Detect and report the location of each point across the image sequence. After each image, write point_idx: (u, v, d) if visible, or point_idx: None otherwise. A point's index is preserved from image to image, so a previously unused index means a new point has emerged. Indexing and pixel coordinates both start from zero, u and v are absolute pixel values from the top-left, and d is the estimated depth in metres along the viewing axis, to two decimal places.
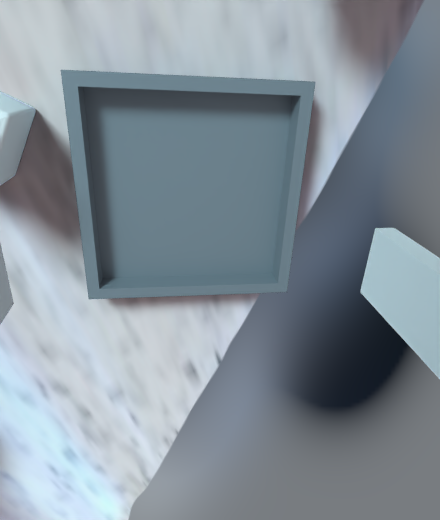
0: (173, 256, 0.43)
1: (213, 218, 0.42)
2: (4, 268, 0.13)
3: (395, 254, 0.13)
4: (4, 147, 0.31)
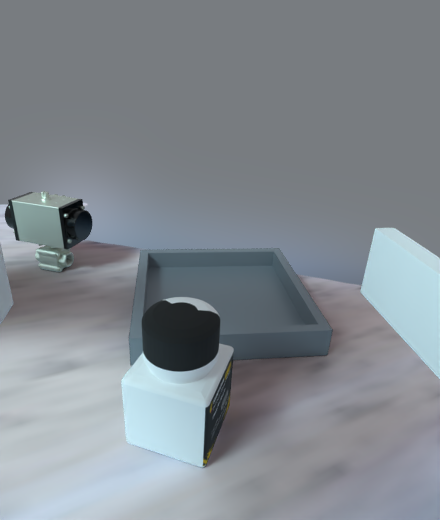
0: (276, 305, 0.51)
1: (237, 289, 0.54)
2: (4, 268, 0.13)
3: (395, 254, 0.13)
4: None
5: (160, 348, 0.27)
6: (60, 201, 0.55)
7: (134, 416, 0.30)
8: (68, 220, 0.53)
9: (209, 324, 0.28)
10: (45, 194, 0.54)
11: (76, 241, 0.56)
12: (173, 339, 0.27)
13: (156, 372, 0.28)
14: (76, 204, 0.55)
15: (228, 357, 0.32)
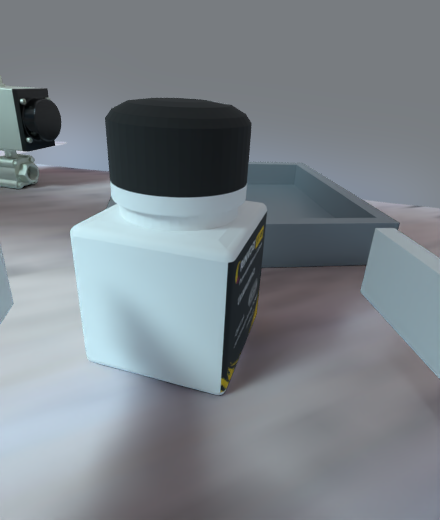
0: (307, 215, 0.38)
1: (253, 201, 0.41)
2: (4, 268, 0.13)
3: (395, 254, 0.13)
4: None
5: (138, 146, 0.14)
6: (17, 87, 0.41)
7: (97, 303, 0.17)
8: (26, 109, 0.40)
9: (233, 112, 0.15)
10: None
11: (39, 145, 0.43)
12: (165, 120, 0.13)
13: (133, 206, 0.15)
14: (38, 92, 0.42)
15: (261, 212, 0.19)
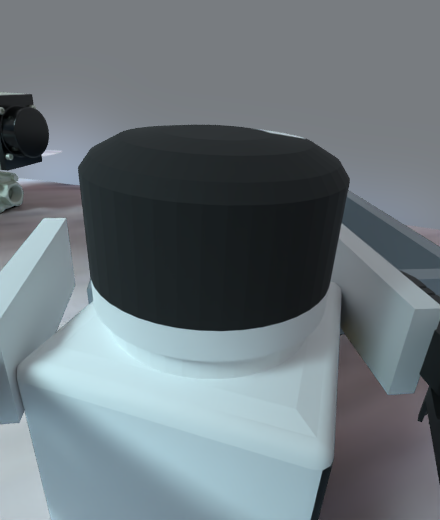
0: None
1: None
2: (69, 252, 0.14)
3: None
4: None
5: (141, 235, 0.07)
6: None
7: (68, 481, 0.10)
8: (5, 119, 0.33)
9: (324, 159, 0.08)
10: None
11: (23, 161, 0.36)
12: (199, 187, 0.06)
13: (131, 338, 0.08)
14: (20, 99, 0.34)
15: (338, 305, 0.12)
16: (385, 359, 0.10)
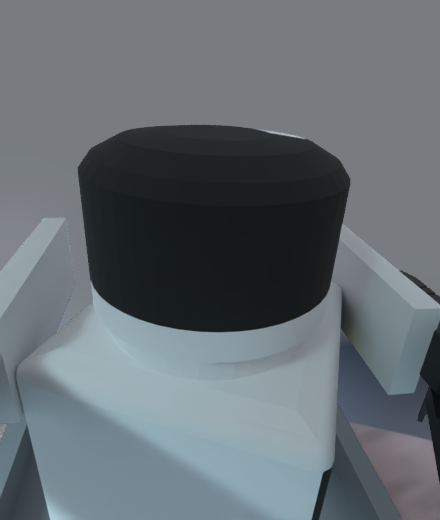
0: None
1: None
2: (69, 252, 0.14)
3: None
4: None
5: (142, 236, 0.07)
6: None
7: (68, 483, 0.10)
8: None
9: (324, 159, 0.08)
10: None
11: None
12: (199, 187, 0.06)
13: (131, 339, 0.08)
14: None
15: (339, 306, 0.12)
16: (385, 359, 0.10)
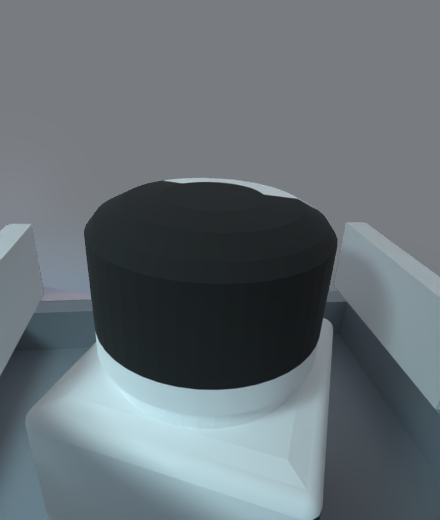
0: None
1: None
2: (36, 259, 0.13)
3: (362, 247, 0.13)
4: None
5: (144, 306, 0.07)
6: None
7: (73, 519, 0.10)
8: None
9: (313, 227, 0.08)
10: None
11: None
12: (197, 267, 0.07)
13: (134, 392, 0.08)
14: None
15: (330, 344, 0.12)
16: (432, 372, 0.10)
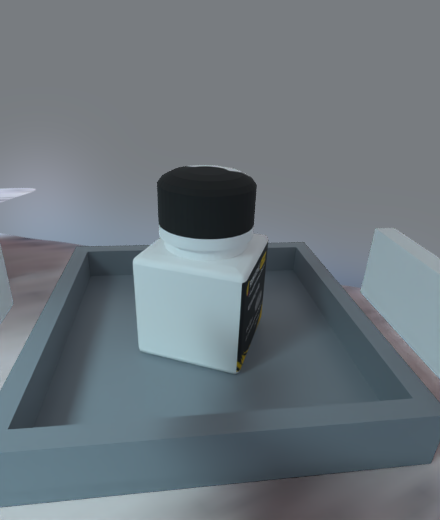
0: (308, 344, 0.27)
1: None
2: (4, 268, 0.13)
3: (395, 254, 0.13)
4: None
5: (183, 206, 0.21)
6: None
7: (149, 310, 0.24)
8: None
9: (244, 181, 0.22)
10: None
11: None
12: (200, 191, 0.21)
13: (177, 244, 0.22)
14: None
15: (263, 243, 0.26)
16: None
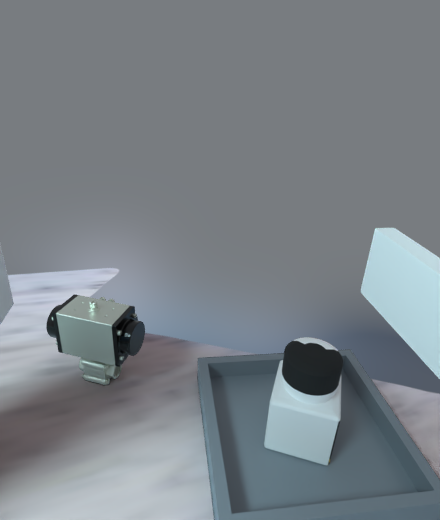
0: (365, 440, 0.44)
1: None
2: (4, 268, 0.13)
3: (395, 254, 0.13)
4: None
5: (306, 379, 0.38)
6: (111, 312, 0.48)
7: (276, 428, 0.41)
8: (122, 337, 0.47)
9: (338, 360, 0.39)
10: (94, 305, 0.48)
11: (127, 354, 0.50)
12: (318, 373, 0.37)
13: (299, 396, 0.39)
14: (128, 315, 0.48)
15: (340, 382, 0.43)
16: None
